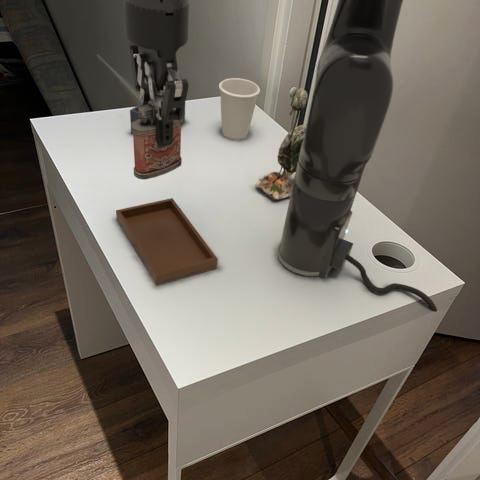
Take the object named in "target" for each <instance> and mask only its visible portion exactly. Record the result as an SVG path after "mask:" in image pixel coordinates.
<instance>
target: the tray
mask: <svg viewBox="0 0 480 480" xmlns="http://www.w3.org/2000/svg"><path fill="white" fill-rule="evenodd" d="M115 217H116V218H115V219H116V221H117V223H118V225H119V226H120V228H121V230H122V231H123V233H124V234H125V236H126V238H127V240H128V242H129V243H130V245H131V246H132V248H133V250H134V251H135V253H136V254H137V256H138V257H139V260H140V261H141V263H142V264H143V266H144V267H145V269H146V271H147V272H148V274H149V277H150V278H151V279H152V281H153V282H154V284H155V285H156V286H160V285H161V286H162V285H164V284H168V283H170V282H174V281H177V280H181V279H185V278H188V277H191V276H194V275H195V276H196V275H198V274H199V275H200V274H202V273H206V272H208V271H212V270H215V269H217V268H218V257H217V256H216V254H215V253H214V251H212V249H211V248H210V247H209V245H208V243H207V242H206V241H205V240H204V239H203V237H202V236H201V234H200V233H199V231H198V230H197V229H196V228H195V227H194V225H193V223H192V222H191V221H190V220H189V218H188V217H187V216H186V214H185V213H184V211H183V210H182V209H181V207H180V206H179V205H178V203H177V202H176V201H175V199H174V198H173V197H171V198H167V199H161V200H157V201H152V202H148V203H143V204H138V205H133V206H129V207H124V208H119V209H116V210H115Z"/></svg>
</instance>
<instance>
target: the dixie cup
mask: <svg viewBox="0 0 480 480" xmlns="http://www.w3.org/2000/svg"><path fill="white" fill-rule="evenodd" d="M218 88H219V94H220V95H219V96H220V118H221V120H220V121H221V122H220V123H221V134H222V136H224V137H225V138H227V139H229V140H237V141H238V140H240V141H241V140H244V139H246V138H247V137H248V135H249V132H250V127H251V123H252V119H253V116H254V113H255V112H254V111H255V108H256V104H257V100H258V95H259V94H260V92H261V90H260V87H259V86H258V84H256V83H255V82H254V81H251V80H249V79H246V78H239V77H238V78H237V77H232V78H226V79H224V80H222V81H221V82H219V85H218Z"/></svg>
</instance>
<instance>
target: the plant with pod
mask: <svg viewBox="0 0 480 480" xmlns="http://www.w3.org/2000/svg"><path fill="white" fill-rule="evenodd" d="M307 101H308V92H307V91H306V90H305V89H303V88H302V87H299V88H296V89H295V91H294V92H293V94H292V98H291V102H290V106H291V110H290V112H289V116H290V117H291V116H292V115H293V113H294V112H296V115H295V120H294V123H293V127H292V128H291V130H290V131H289V132H288V133H287V134H286V136H285V137H284V139H283V141H282V142H281V144H280V145H279V148H278V151H277V152H278V153H277V163H278V165H279V166H281V167H280V170H279V172H278V171H271V172H270V173H268V174H266V175H263V177H262V178H259V179H258V181H257V183H256V184H255V185H254V187H255V188H256V189H261V191H262V192H264V193H265V195H267V196H269V198H270V199H271V200H275V201H277V200H281V199H282V200H283V199H285V198H288V197H290V196H291V191H292V187H293V182H294V180H293V181H292V180H290V177H291V176H293V175H294V174H295V173H296V168H297V163H298V159H299V154H300V149H301V145H302V142H303V139H304V135H305V131H306V126H307V124H300V125H298V126H297V123H298V120H299V116H300V112H302V111H303V110H304V109H305V108H306V105H307ZM282 170H283V171H282ZM281 172H282V173H281Z"/></svg>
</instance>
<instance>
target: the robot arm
mask: <svg viewBox="0 0 480 480" xmlns="http://www.w3.org/2000/svg"><path fill="white" fill-rule="evenodd" d="M122 3H123V18H124V19H123V21H124V34H125V38H126V39H127V41H129V43H128V49H129V55H130V61H131V70H132V75H133V83H134V89H135V91H136V92H138V93H139V99H140V101H141V103H143V102H144V103H143V106H145V105H147V104H148V102H149V101H150V100H153V101H154V104H155V113H156V142H157V143H158V145H159V146H164V145H170V144H172V142H173V121H175V120H182V116H183V111H184V106H185V107H186V100H187V97H188V92H189V81H188V79H187V78H183V79H180V77H179V66H178V59H177V52H178V50H179V49H181V48H182V47H184V46H186V44H187V42H188V40H189V39H188V38H189V18H190V17H189V16H190V15H189V14H190V0H122ZM403 3H404V0H337V5H336V8H335V10H334V15H333V17H332V21H331V24H330V27H329V31H328V33H327V36H326V40H325V42H324V46H323V49H322V51H321V54H320V57H319V60H318V62H317V66H316V75H315V85H314V89H313V93H312V94H313V95H312V98H311V104H310V108H309V113H308V118H307V122H306V125H307V126H306V131H305V135H304V139H303V142H302V145H301V149H300V154H299V159H298V163H297V168H296V172H294V178H293V187H292V191H291V196H290V195H289V201H288V206H287V211H286V216H285V220H284V225H283V229H282V234H281V239H280V243H279V246H278V249H277V250H278V251H277V257H278V260H279V262H280V263H281V265H282V266H284V267H285V268H286V269H287V270H289V271H290V272H292V273H295V274H297V275H300V276H304V277H321V278H323V279H324V278H327V276H328V275H329V273H330V272H331V270H332V269H335V270H338V271H341V270H342V268H343V267H344V265H345V263H346V261H347V262H348V263H350V264H351V265H353V266H354V267H355V268H356V269H357V270H358V271H359V273H360V278H361V280H362V281H363V282H364V284H365V286H366V287H367V289H369V290H370V291H372V292H373V293H376V294H379V295H382V294H386V293H388V292H390V291H392V290H399V291H402V292H403V291H404V292H407V293H411V294H413V295H415V296H416V297H418V298H420V299H421V300H422V301H424V303H425V304H426V305H427V306H428V308H429V310H430V311H432V312H434V313H436V312H438V309H437V306H436V304H435V302H434V301H433V299H431V297H429V296H428V295H427V294H426V293H425V292H423V291H421V290H420V289H418V288H416V287H414V286H413V287H412V286H410V285H407V284H402V283H397V282H396V283H390V284H388V285H386V286H384V287H378V286H376V285H375V284H373V283H372V281H371V280H370V279H369V277H368V274H367V271H366V268H365V267H364V265H362V263H360V261H358V260H357V259H356V258H354V257H352V255H350V254H351V251H352V250H353V246H354V242H351V241H349V240H346V239H345V237H346V236H345V235H346V234H347V233H348V232H349V230H348V227H349V224H350V221H351V218H352V215H353V210H352V207H353V204H354V201H355V199H356V195H357V192H358V189H359V185H360V183H361V180H362V177H363V174H364V171H365V168H366V165H367V164H368V162H369V161H370V159H371V158H372V156H373V153H374V151H375V148H376V145H377V143H378V140H379V138H380V135H381V131H382V128H383V125H384V123H385V120H386V117H387V114H388V113H389V112H388V111H389V109H390V106H391V102H392V98H393V93H394V75H393V71H392V64H391V58H392V52H393V51H392V50H393V47H394V39H395V36H396V31H397V27H398V22H399V20H400V19H399V18H400V14H401V11H402V10H401V9H402V7H403ZM162 91H164V93H160V92H162ZM162 101H163V105H162V107H161V102H162Z"/></svg>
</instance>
